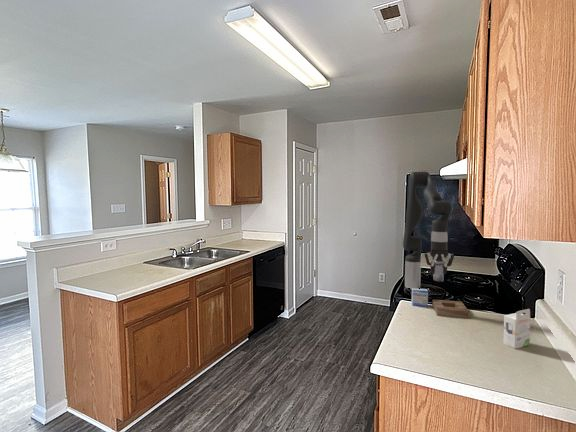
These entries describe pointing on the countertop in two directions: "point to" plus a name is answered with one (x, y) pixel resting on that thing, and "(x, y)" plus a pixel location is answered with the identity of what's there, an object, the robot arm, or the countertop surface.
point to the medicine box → (419, 297)
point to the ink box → (517, 329)
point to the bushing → (438, 270)
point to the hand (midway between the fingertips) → (438, 273)
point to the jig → (450, 308)
